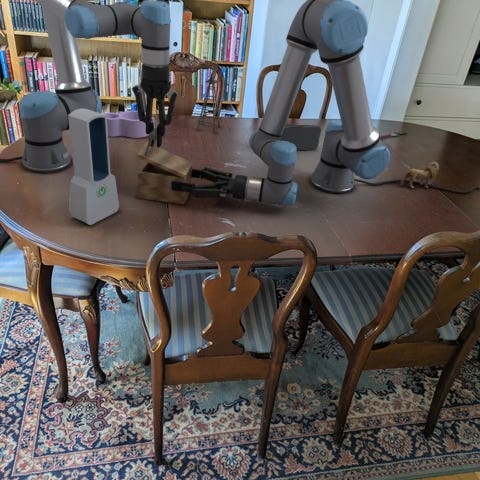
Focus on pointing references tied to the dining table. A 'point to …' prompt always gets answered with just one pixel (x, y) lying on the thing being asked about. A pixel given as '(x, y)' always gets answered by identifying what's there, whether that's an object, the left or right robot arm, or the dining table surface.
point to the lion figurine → (421, 174)
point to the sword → (391, 135)
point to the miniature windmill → (212, 82)
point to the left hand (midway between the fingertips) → (155, 145)
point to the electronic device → (91, 168)
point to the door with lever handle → (163, 157)
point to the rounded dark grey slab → (302, 136)
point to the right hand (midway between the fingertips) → (176, 178)
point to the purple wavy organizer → (126, 124)
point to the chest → (161, 184)
